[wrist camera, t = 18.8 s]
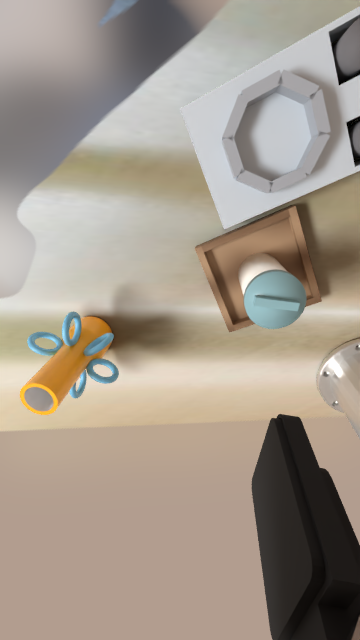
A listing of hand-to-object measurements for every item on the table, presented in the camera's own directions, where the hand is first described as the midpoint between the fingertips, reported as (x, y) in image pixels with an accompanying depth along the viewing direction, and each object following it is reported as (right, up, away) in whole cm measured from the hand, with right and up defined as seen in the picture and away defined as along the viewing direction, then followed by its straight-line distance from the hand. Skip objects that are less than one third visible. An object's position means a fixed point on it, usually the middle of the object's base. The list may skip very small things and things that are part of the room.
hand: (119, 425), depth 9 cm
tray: (+12, +10, +28) cm, 32 cm away
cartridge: (+12, +9, +27) cm, 31 cm away
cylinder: (-11, +1, +34) cm, 36 cm away
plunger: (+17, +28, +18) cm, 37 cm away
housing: (+14, +23, +21) cm, 34 cm away
